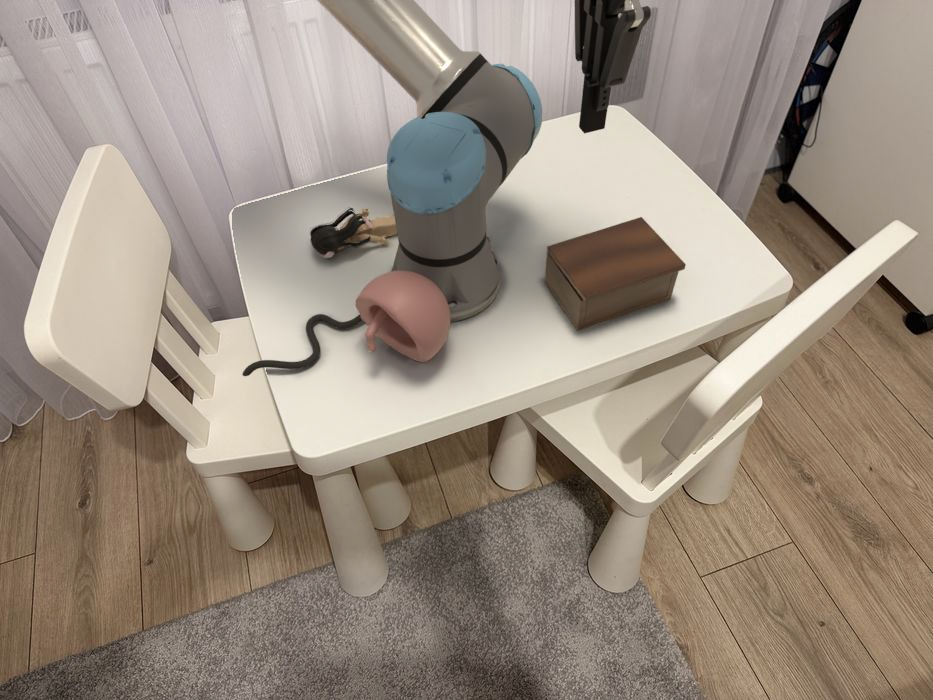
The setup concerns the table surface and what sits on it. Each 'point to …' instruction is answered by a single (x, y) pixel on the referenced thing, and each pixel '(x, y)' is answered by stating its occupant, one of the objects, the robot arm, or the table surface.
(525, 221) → the table surface
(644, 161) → the table surface
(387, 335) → the mortar and pestle
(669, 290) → the chest
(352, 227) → the toy figure
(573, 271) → the lid
